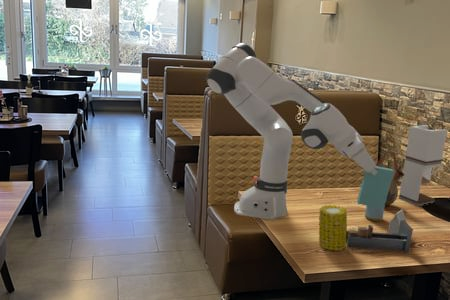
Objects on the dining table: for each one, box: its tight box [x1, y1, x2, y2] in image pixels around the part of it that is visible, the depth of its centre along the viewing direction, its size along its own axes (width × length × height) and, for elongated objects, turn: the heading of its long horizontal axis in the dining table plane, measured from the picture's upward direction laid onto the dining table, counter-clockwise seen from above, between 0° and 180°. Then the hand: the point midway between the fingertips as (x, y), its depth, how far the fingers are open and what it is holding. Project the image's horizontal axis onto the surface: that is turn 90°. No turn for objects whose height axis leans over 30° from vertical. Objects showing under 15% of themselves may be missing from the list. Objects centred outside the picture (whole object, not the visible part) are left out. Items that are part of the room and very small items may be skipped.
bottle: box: [364, 205, 386, 222], centre depth 178 cm, size 7×7×15 cm
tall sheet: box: [356, 166, 394, 210], centre depth 151 cm, size 9×2×14 cm, turn 87°
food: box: [318, 204, 348, 252], centre depth 152 cm, size 15×12×10 cm
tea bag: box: [387, 209, 407, 234], centre depth 163 cm, size 4×7×10 cm, turn 139°
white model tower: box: [398, 124, 448, 207], centre depth 200 cm, size 11×11×35 cm
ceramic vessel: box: [375, 150, 404, 207], centre depth 194 cm, size 16×9×25 cm, turn 30°
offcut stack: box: [347, 224, 374, 240], centre depth 155 cm, size 8×2×8 cm, turn 87°
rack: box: [346, 220, 414, 254], centre depth 154 cm, size 21×8×9 cm, turn 87°
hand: (373, 171), depth 150 cm, fingers closed on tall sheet, 2 cm apart
